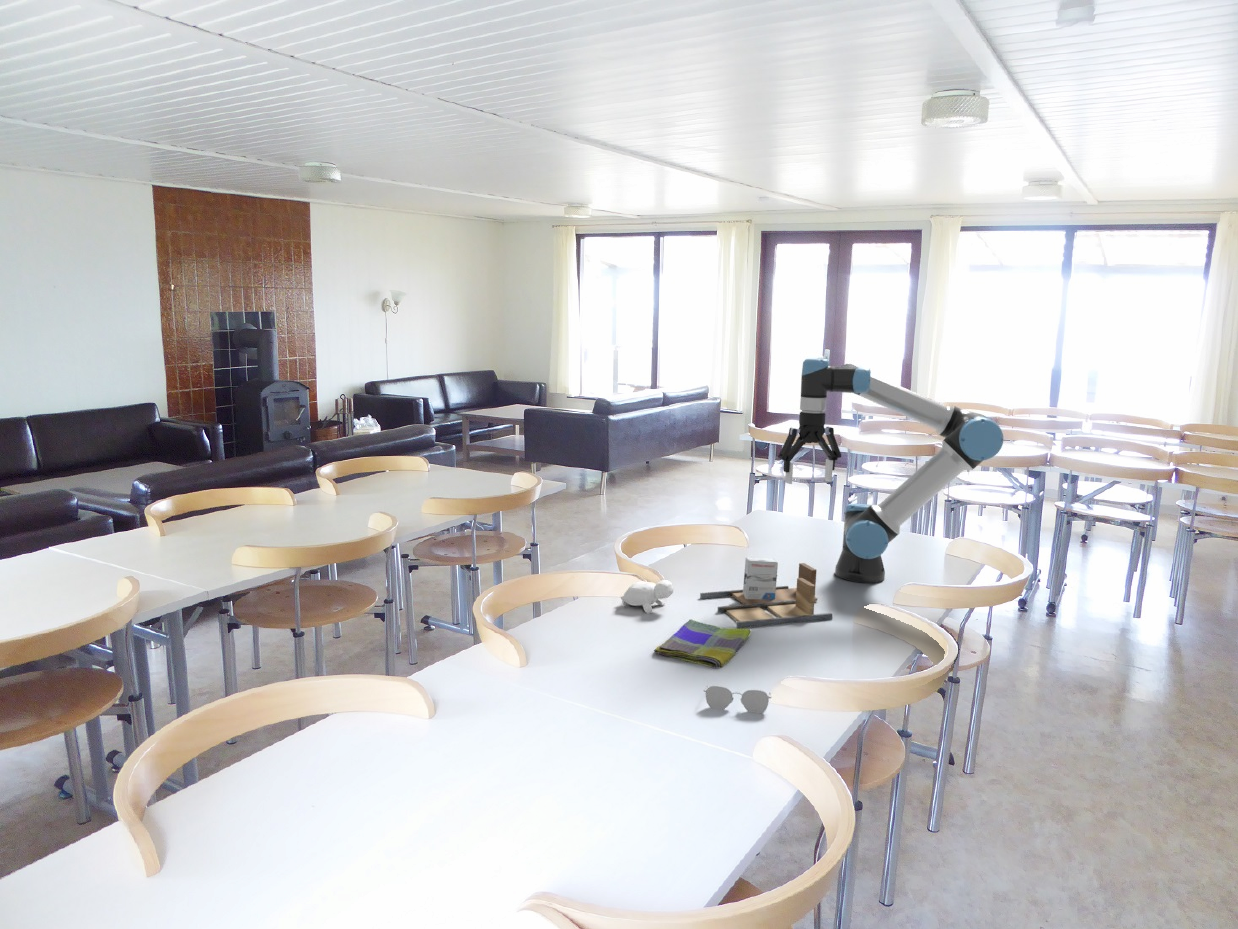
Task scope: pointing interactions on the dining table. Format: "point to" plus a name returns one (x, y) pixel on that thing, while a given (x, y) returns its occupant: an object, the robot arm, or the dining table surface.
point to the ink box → (760, 578)
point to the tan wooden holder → (783, 594)
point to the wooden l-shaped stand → (782, 606)
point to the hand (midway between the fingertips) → (808, 482)
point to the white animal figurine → (647, 594)
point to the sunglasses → (723, 697)
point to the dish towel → (704, 644)
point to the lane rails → (764, 606)
